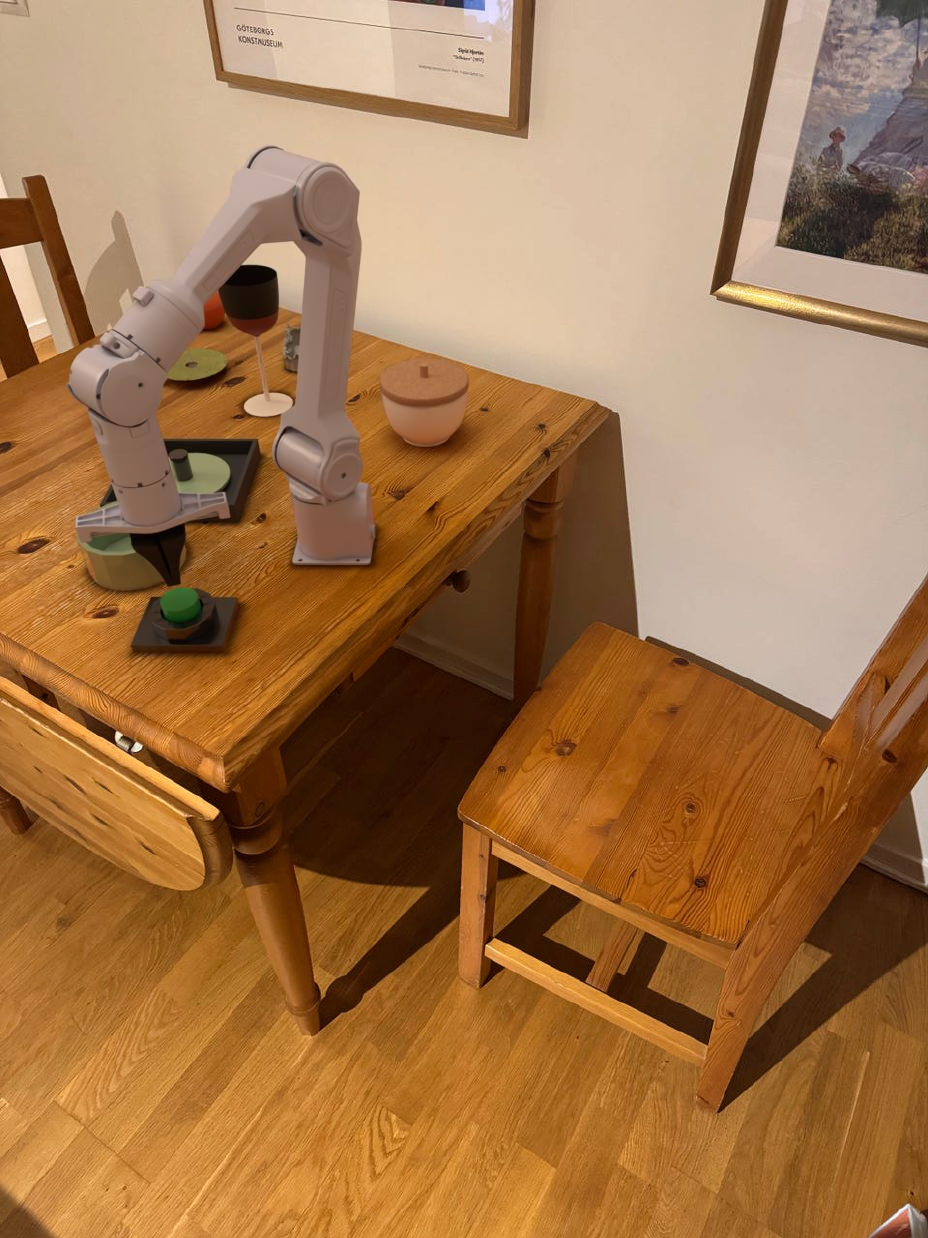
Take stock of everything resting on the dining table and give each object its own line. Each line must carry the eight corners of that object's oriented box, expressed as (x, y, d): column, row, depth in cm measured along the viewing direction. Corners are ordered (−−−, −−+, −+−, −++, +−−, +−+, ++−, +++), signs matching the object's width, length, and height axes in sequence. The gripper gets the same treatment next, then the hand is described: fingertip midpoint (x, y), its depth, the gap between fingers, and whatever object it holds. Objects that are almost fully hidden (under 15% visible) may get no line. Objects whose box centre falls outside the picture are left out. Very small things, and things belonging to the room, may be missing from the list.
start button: (204, 598, 96) (201, 586, 95) (196, 623, 93) (192, 611, 92) (169, 598, 96) (165, 586, 95) (159, 622, 93) (155, 610, 92)
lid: (239, 459, 121) (233, 429, 118) (221, 509, 112) (213, 479, 109) (153, 459, 121) (145, 429, 118) (128, 509, 112) (118, 479, 109)
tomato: (217, 313, 159) (208, 269, 154) (237, 326, 155) (228, 281, 150) (180, 324, 156) (169, 280, 151) (199, 337, 152) (189, 292, 146)
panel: (239, 604, 99) (234, 584, 97) (224, 653, 94) (219, 633, 92) (153, 604, 100) (146, 584, 98) (133, 653, 94) (125, 633, 92)
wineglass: (286, 419, 131) (264, 288, 117) (232, 414, 132) (205, 283, 118) (303, 394, 136) (285, 266, 123) (251, 389, 138) (228, 262, 124)
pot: (196, 533, 110) (186, 497, 106) (173, 591, 101) (162, 555, 98) (107, 532, 110) (94, 497, 106) (76, 591, 101) (62, 555, 98)
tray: (261, 455, 123) (257, 438, 121) (238, 522, 111) (234, 504, 109) (141, 455, 123) (136, 438, 121) (105, 522, 111) (99, 504, 109)
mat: (238, 360, 145) (236, 349, 144) (215, 392, 137) (212, 381, 136) (174, 356, 146) (172, 346, 145) (148, 388, 138) (144, 377, 137)
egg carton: (288, 345, 150) (285, 322, 147) (332, 343, 150) (329, 320, 147) (282, 373, 142) (278, 349, 139) (328, 371, 142) (325, 348, 139)
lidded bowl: (367, 443, 125) (360, 373, 118) (411, 406, 134) (407, 337, 126) (443, 465, 121) (441, 393, 113) (483, 425, 129) (484, 355, 122)
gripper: (214, 438, 87) (238, 545, 96) (62, 461, 84) (103, 569, 93) (219, 475, 82) (245, 584, 91) (59, 501, 79) (102, 611, 88)
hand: (173, 579), depth 92 cm, fingers closed
